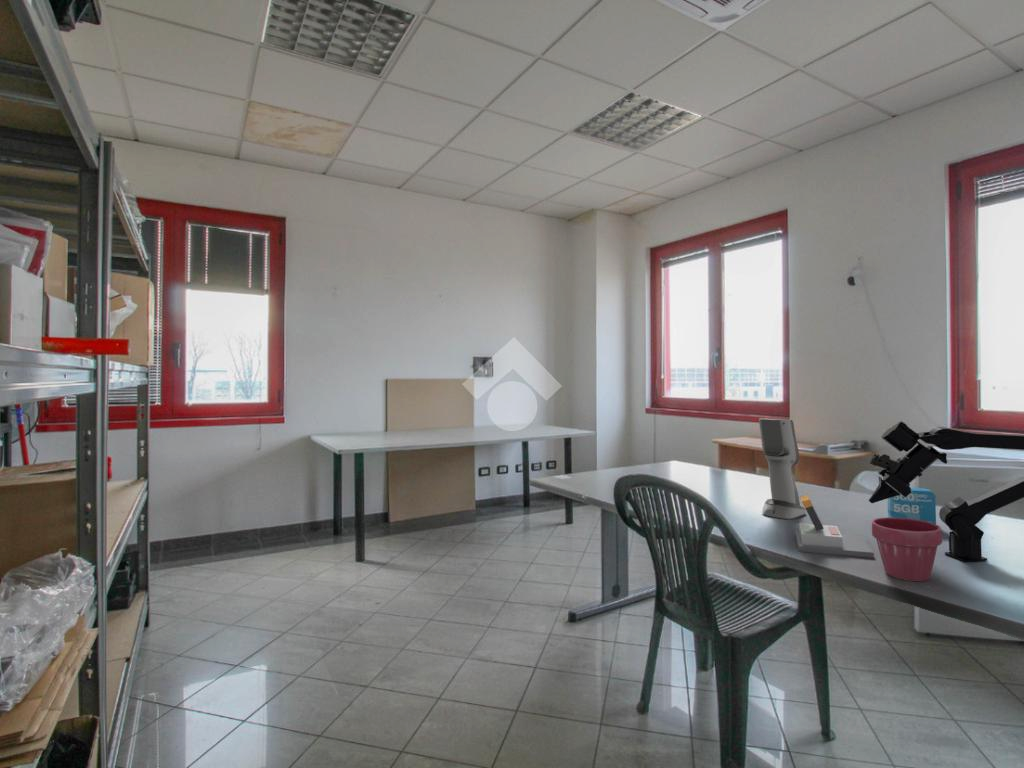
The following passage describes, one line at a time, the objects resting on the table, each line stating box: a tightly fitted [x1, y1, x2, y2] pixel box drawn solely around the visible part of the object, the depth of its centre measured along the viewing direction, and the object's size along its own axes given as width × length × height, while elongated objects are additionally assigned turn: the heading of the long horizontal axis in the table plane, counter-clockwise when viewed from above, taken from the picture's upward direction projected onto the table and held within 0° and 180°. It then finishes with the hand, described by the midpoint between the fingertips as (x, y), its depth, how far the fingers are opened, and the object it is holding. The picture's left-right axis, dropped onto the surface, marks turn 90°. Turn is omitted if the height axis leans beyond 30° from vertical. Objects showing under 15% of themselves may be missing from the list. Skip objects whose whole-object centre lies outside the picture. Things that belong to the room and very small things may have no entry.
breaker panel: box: [794, 523, 875, 559], centre depth 157 cm, size 18×16×5 cm
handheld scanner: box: [758, 417, 807, 520], centre depth 194 cm, size 12×13×35 cm
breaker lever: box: [799, 494, 824, 531], centre depth 159 cm, size 2×7×9 cm, turn 154°
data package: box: [887, 487, 937, 525], centre depth 175 cm, size 12×4×12 cm, turn 64°
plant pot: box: [871, 517, 943, 582], centre depth 134 cm, size 14×14×13 cm
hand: (870, 501), depth 154 cm, fingers closed
